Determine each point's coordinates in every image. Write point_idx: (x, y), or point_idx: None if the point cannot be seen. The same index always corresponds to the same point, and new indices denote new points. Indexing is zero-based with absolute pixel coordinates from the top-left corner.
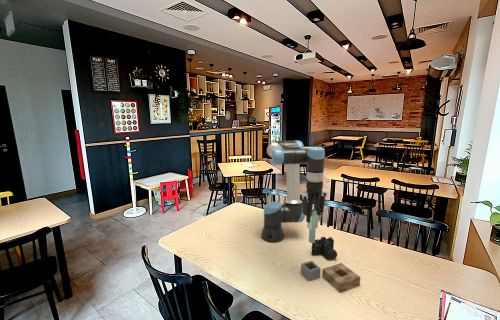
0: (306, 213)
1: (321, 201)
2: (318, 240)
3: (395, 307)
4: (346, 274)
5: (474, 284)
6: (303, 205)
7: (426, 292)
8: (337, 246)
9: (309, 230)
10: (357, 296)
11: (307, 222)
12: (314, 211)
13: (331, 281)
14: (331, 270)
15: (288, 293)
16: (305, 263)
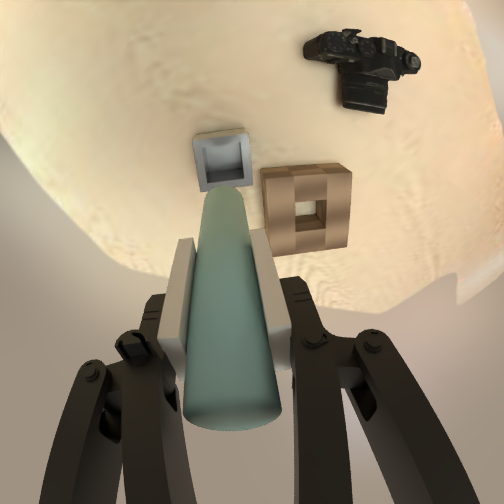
0: (113, 420)
1: (403, 492)
2: (357, 43)
3: (346, 294)
4: (324, 219)
5: (482, 276)
6: (61, 483)
7: (426, 276)
8: (421, 56)
9: (198, 241)
10: (302, 256)
11: (173, 272)
12: (228, 429)
13: (266, 215)
14: (289, 196)
15: (126, 205)
16: (210, 143)
